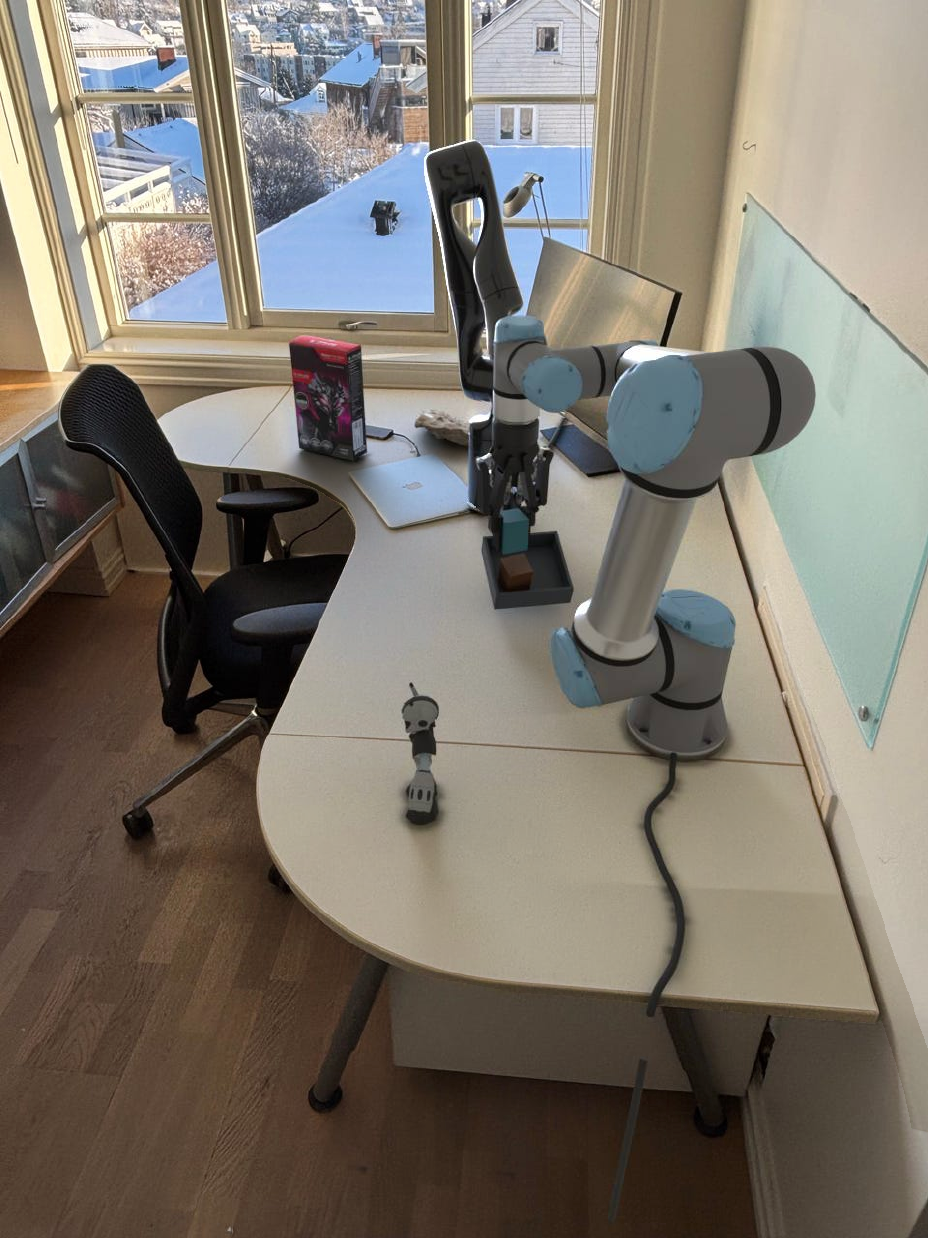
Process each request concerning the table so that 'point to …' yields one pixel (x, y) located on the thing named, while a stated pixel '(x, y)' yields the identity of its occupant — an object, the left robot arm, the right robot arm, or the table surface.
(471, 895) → the table surface
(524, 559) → the walnut block
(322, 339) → the graphics card box
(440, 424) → the stone
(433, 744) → the robot
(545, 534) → the tray
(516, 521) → the teal block
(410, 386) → the table surface
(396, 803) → the table surface
